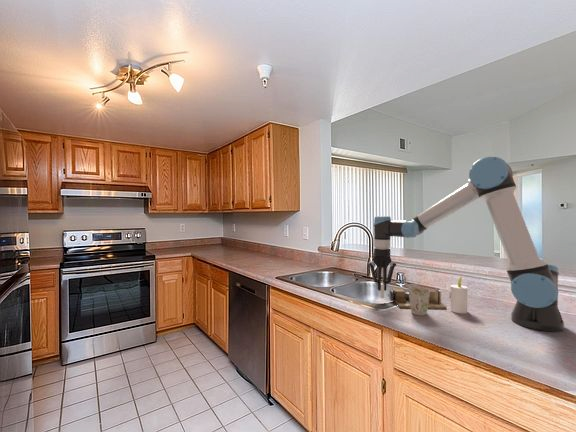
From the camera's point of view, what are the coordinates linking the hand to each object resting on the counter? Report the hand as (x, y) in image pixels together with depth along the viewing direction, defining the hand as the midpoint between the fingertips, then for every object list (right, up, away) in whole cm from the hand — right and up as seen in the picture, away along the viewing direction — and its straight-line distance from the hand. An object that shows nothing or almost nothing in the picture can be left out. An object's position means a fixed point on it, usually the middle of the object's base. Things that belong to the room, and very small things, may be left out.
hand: (381, 297), depth 138 cm
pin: (+15, -2, -1) cm, 15 cm away
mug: (+10, -2, -19) cm, 21 cm away
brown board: (+15, -2, -1) cm, 15 cm away
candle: (+28, -2, -14) cm, 32 cm away
